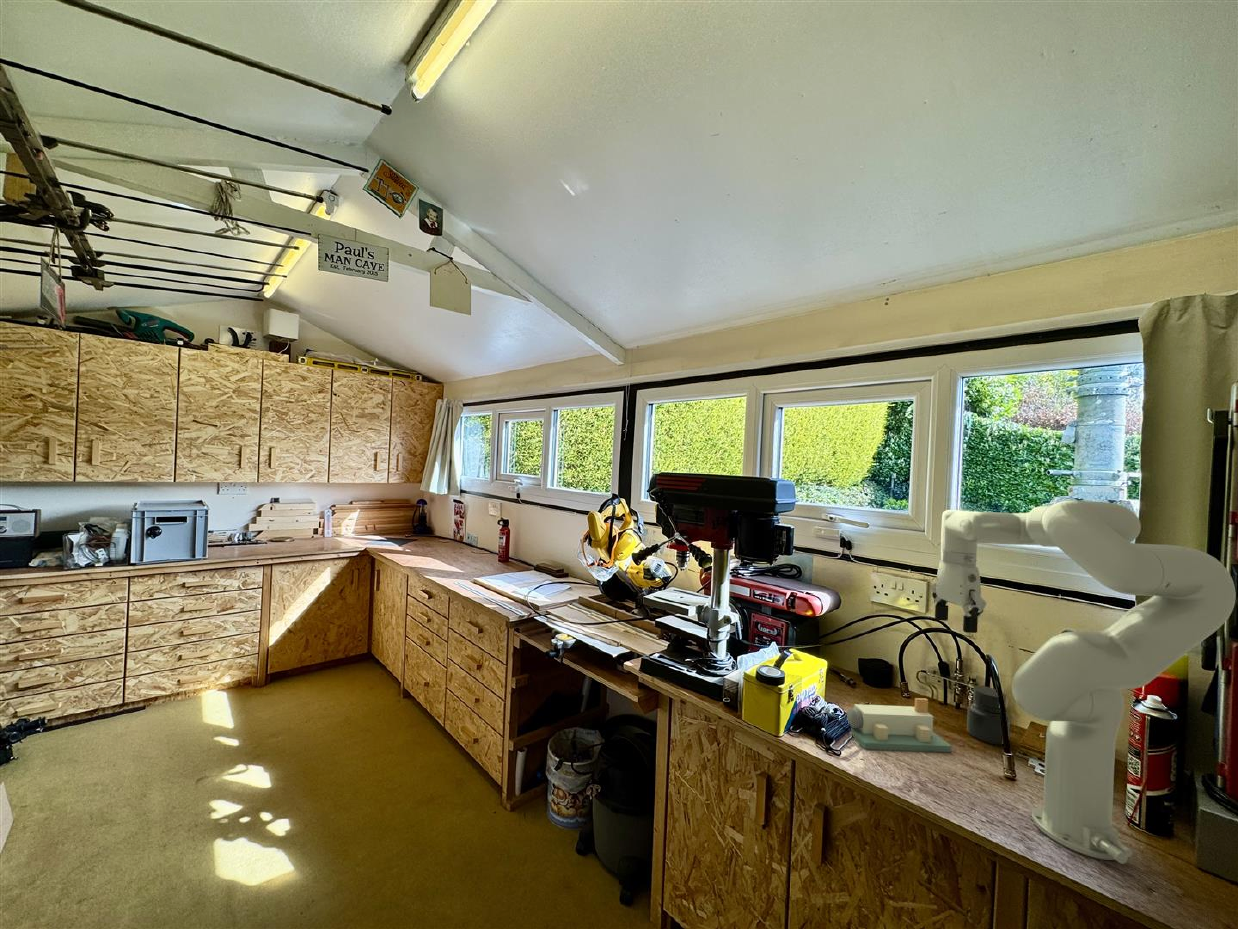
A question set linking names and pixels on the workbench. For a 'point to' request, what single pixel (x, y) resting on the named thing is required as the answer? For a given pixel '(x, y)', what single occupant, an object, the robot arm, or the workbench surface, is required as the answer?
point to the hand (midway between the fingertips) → (955, 626)
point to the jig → (901, 740)
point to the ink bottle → (986, 716)
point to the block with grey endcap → (891, 717)
